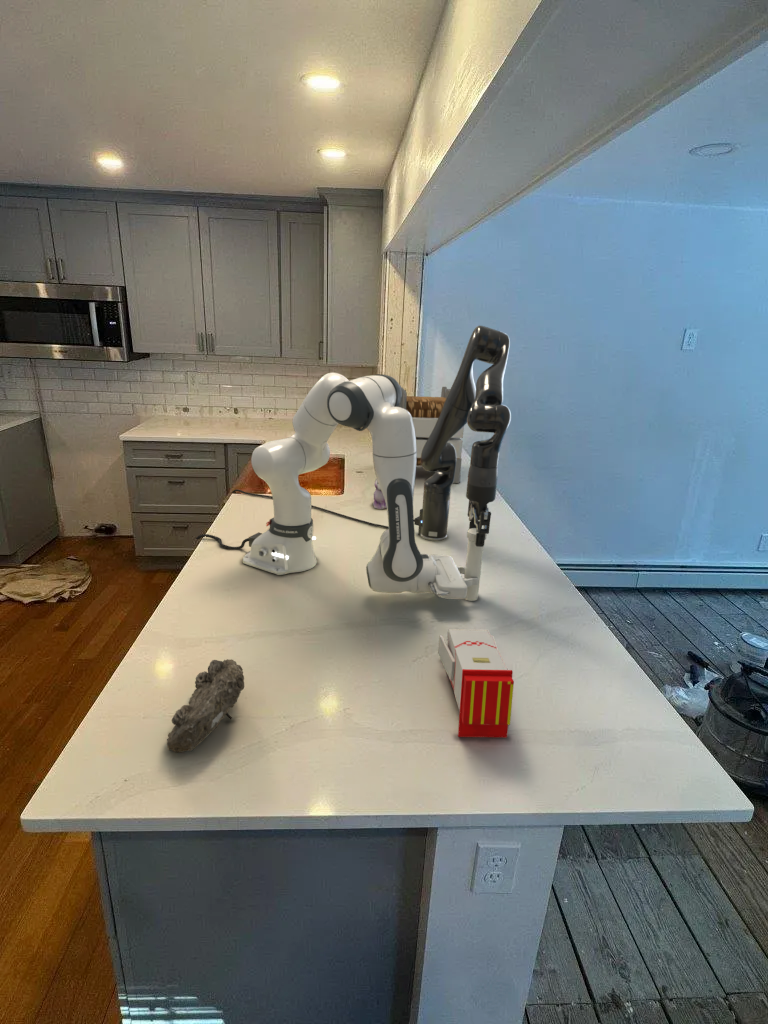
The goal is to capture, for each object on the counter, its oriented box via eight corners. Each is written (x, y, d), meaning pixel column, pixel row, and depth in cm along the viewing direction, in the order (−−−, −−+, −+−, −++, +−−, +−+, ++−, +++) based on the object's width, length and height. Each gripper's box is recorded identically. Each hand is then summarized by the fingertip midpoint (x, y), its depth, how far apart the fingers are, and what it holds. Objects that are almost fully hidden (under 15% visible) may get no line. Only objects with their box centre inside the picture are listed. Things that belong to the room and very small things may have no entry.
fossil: (192, 660, 117) (244, 628, 112) (224, 691, 120) (276, 661, 115) (142, 746, 98) (202, 712, 93) (182, 779, 101) (242, 748, 96)
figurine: (377, 511, 221) (379, 474, 216) (366, 503, 229) (367, 467, 224) (399, 508, 225) (401, 471, 220) (387, 500, 233) (388, 465, 228)
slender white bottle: (461, 599, 156) (468, 535, 150) (462, 592, 160) (469, 530, 154) (477, 601, 156) (484, 537, 149) (478, 594, 159) (485, 532, 153)
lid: (487, 541, 150) (488, 535, 149) (468, 541, 149) (469, 534, 149) (484, 534, 154) (484, 528, 154) (465, 533, 154) (466, 527, 153)
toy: (488, 613, 130) (523, 677, 101) (484, 667, 133) (517, 744, 104) (435, 612, 130) (455, 676, 101) (432, 666, 133) (451, 743, 103)
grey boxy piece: (382, 463, 289) (386, 382, 275) (445, 464, 293) (451, 384, 279) (390, 482, 257) (394, 392, 243) (460, 483, 261) (468, 394, 247)
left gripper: (433, 583, 143) (486, 583, 145) (420, 550, 163) (467, 550, 164) (432, 605, 146) (484, 604, 147) (419, 570, 165) (465, 570, 166)
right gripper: (504, 490, 140) (496, 551, 146) (489, 474, 154) (483, 530, 159) (474, 489, 139) (468, 551, 145) (462, 473, 153) (456, 530, 158)
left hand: (475, 576), depth 156 cm, fingers closed on slender white bottle, 4 cm apart
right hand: (476, 540), depth 152 cm, fingers open, 7 cm apart
